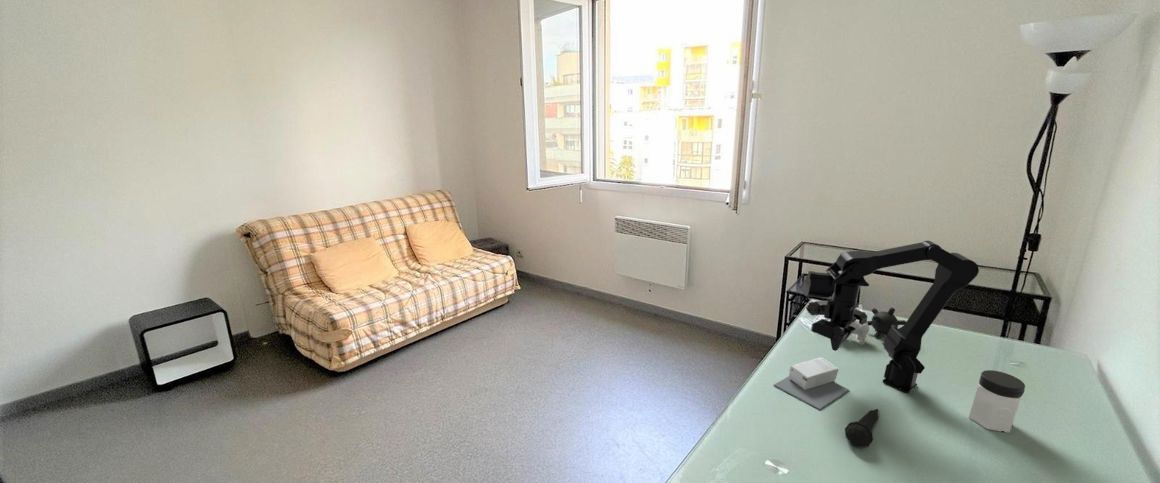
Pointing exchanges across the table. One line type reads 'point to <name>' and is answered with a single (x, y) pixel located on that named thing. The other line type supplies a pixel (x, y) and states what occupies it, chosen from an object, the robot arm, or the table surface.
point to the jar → (996, 400)
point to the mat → (813, 392)
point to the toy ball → (884, 321)
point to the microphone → (862, 429)
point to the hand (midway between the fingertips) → (834, 349)
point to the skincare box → (813, 373)
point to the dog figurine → (860, 330)
